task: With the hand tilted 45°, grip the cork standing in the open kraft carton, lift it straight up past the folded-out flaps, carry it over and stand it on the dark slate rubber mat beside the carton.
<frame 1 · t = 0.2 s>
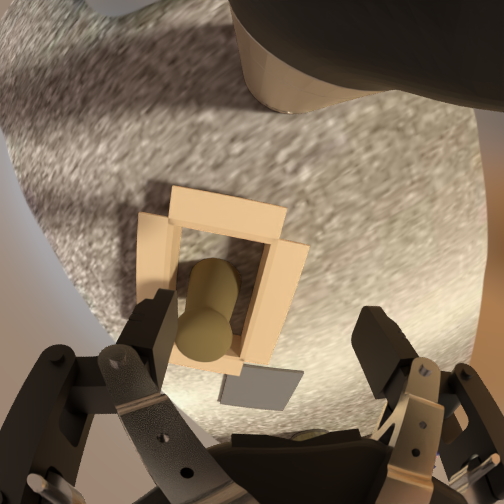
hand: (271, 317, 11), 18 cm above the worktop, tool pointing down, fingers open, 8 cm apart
carton: (214, 281, 32), on the worktop
mat: (259, 388, 40), on the worktop
cork: (215, 280, 32), resting in carton
thermos: (310, 436, 49), on the worktop
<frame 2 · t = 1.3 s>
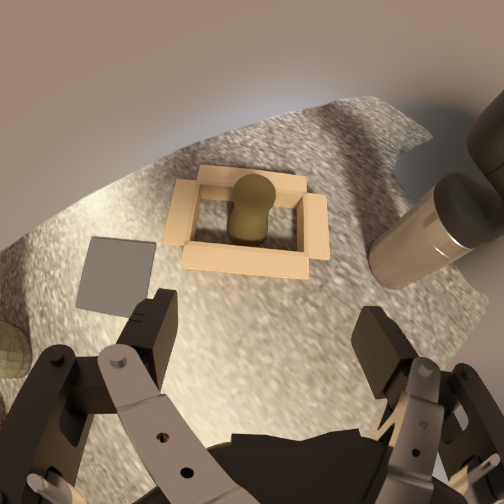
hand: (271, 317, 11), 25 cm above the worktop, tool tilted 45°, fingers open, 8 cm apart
carton: (247, 229, 41), on the worktop
mat: (114, 277, 36), on the worktop
cork: (247, 229, 41), resting in carton
thermos: (16, 352, 29), on the worktop
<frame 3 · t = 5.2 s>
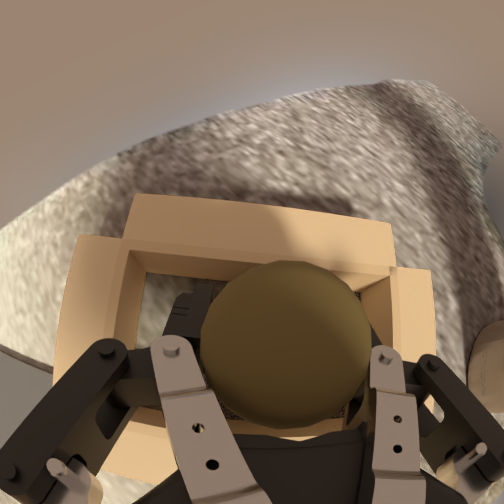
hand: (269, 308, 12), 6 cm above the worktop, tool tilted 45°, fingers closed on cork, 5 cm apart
carton: (253, 352, 16), on the worktop
mat: (11, 418, 12), on the worktop
cork: (252, 352, 17), resting in carton, touching gripper
when the fingers open (7 cm above the worktop, at t = 11.5 s): cork stays where it is, resting on mat.
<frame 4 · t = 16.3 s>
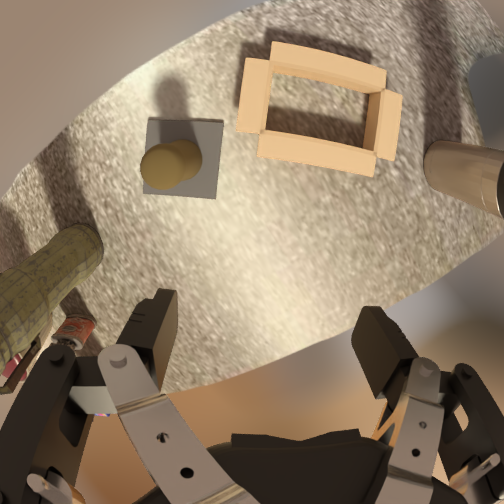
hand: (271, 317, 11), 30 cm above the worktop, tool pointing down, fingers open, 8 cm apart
canister: (34, 304, 47), on the worktop
carton: (319, 109, 35), on the worktop
mat: (181, 158, 37), on the worktop
lighter: (82, 320, 48), on the worktop
cork: (181, 159, 37), resting on mat
thermos: (84, 246, 42), on the worktop
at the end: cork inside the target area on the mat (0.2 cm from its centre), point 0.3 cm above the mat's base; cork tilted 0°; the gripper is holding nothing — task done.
